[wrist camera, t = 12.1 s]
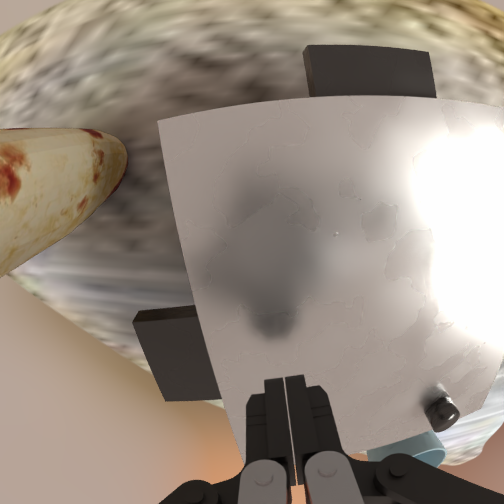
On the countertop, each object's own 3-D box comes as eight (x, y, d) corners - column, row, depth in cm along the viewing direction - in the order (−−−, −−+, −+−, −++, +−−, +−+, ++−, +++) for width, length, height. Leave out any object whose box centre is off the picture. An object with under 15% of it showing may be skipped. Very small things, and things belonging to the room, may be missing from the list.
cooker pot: (429, 83, 19) (516, 68, 9) (421, 352, 27) (465, 419, 18) (196, 95, 19) (156, 61, 10) (249, 386, 28) (251, 473, 19)
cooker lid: (524, 113, 10) (555, 116, 8) (475, 400, 17) (488, 420, 15) (95, 140, 11) (65, 143, 8) (203, 459, 18) (200, 487, 16)
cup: (396, 418, 31) (424, 482, 21) (341, 424, 31) (361, 497, 21) (420, 374, 29) (460, 441, 19) (360, 379, 28) (392, 459, 19)
